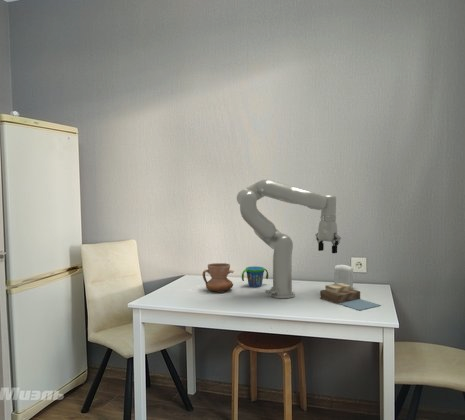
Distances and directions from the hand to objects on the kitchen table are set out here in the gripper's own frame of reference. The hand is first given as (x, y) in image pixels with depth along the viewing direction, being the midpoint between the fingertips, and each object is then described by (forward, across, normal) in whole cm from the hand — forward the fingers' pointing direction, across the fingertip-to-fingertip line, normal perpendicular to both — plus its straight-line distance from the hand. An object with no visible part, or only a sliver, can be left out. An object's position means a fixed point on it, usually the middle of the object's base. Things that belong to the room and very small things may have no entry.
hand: (327, 251), depth 225 cm
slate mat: (+21, +25, -4) cm, 33 cm away
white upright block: (+21, -3, +16) cm, 26 cm away
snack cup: (+22, -34, -22) cm, 46 cm away
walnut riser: (+21, +13, -4) cm, 25 cm away
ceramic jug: (+23, -38, -43) cm, 62 cm away
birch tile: (+16, +11, -4) cm, 20 cm away
